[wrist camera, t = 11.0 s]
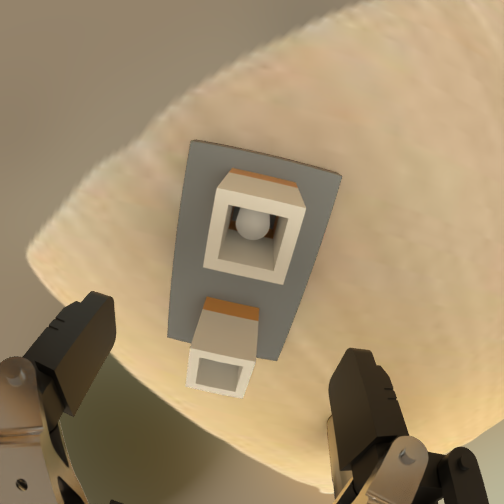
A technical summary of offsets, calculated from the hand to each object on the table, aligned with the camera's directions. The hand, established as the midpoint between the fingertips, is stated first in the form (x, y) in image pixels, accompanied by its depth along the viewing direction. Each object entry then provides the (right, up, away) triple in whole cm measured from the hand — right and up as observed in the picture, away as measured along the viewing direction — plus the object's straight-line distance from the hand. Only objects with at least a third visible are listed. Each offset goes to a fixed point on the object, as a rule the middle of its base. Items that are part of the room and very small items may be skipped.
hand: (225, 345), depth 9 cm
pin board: (0, +2, +18) cm, 18 cm away
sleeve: (+1, +7, +14) cm, 16 cm away
